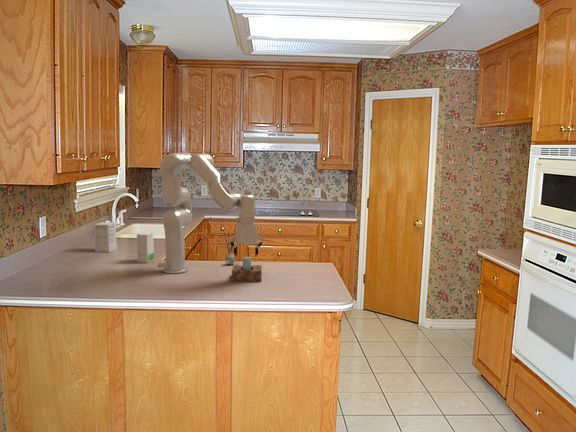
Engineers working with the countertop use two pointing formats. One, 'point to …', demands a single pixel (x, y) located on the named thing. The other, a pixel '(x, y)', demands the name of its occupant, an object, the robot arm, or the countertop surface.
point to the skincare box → (145, 247)
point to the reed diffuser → (230, 254)
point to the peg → (246, 263)
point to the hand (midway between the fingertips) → (246, 255)
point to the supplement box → (105, 237)
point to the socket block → (246, 273)
